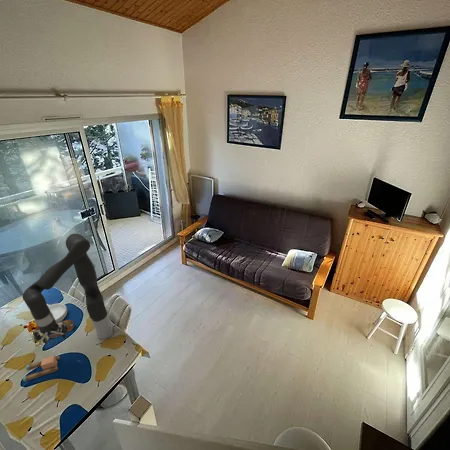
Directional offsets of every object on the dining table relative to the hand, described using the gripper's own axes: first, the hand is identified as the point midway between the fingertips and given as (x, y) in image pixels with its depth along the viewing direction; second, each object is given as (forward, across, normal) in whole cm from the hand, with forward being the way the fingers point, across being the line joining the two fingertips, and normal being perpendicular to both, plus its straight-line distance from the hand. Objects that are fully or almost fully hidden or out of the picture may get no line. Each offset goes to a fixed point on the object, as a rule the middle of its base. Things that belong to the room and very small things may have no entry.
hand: (55, 339), depth 135 cm
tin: (+20, +5, -23) cm, 31 cm away
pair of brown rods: (+20, +12, +1) cm, 23 cm away
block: (+20, +8, 0) cm, 22 cm away
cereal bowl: (+20, +12, -36) cm, 43 cm away
